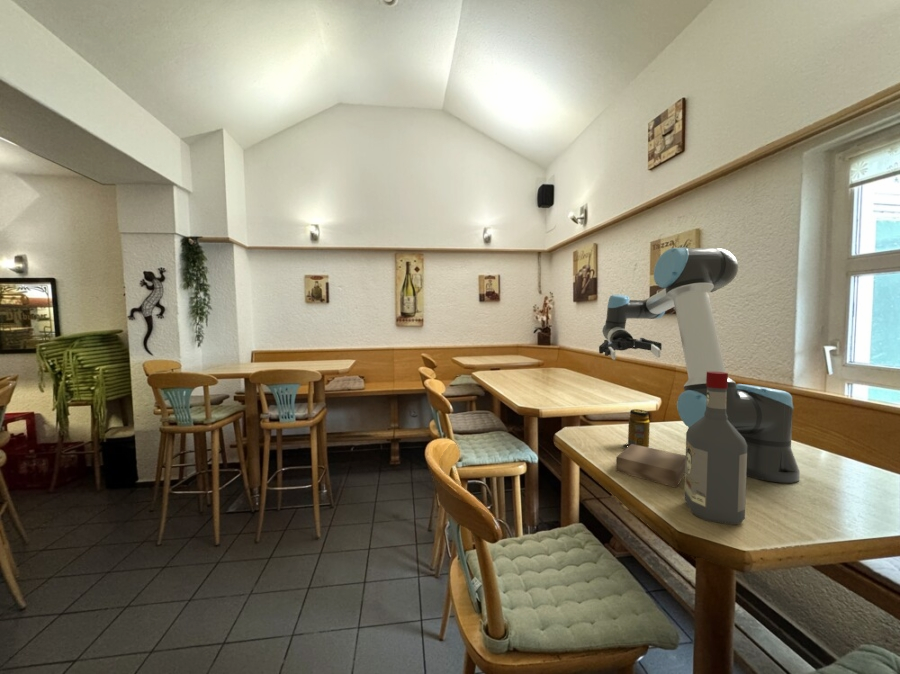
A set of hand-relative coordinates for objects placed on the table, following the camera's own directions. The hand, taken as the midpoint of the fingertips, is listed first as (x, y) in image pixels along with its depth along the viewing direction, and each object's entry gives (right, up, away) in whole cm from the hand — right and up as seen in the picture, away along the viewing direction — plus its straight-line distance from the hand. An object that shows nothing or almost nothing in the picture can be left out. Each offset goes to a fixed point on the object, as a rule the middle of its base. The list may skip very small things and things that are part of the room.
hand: (636, 354), depth 116 cm
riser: (-7, -31, -20) cm, 37 cm away
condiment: (-1, -30, -2) cm, 30 cm away
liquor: (-6, -32, -41) cm, 53 cm away
